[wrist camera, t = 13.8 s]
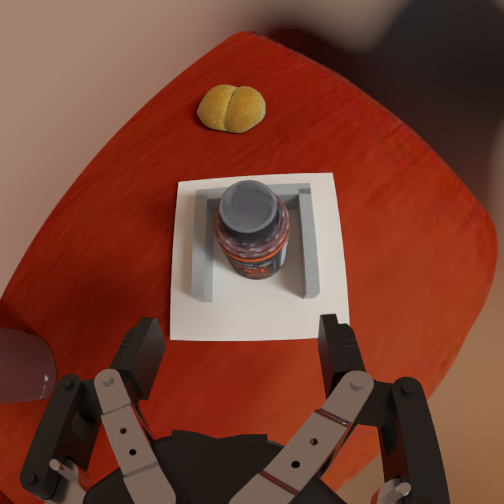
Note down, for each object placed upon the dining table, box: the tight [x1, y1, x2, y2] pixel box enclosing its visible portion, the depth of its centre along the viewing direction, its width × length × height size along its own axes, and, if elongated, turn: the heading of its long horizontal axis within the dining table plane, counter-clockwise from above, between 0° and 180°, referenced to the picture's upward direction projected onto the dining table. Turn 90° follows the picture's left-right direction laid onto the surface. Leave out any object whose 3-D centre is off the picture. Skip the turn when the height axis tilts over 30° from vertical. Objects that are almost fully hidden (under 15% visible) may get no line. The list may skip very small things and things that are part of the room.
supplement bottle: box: [213, 180, 290, 280], centre depth 25 cm, size 6×6×11 cm
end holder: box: [170, 173, 350, 341], centre depth 29 cm, size 18×18×4 cm
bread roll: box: [197, 85, 265, 133], centre depth 36 cm, size 8×9×4 cm
